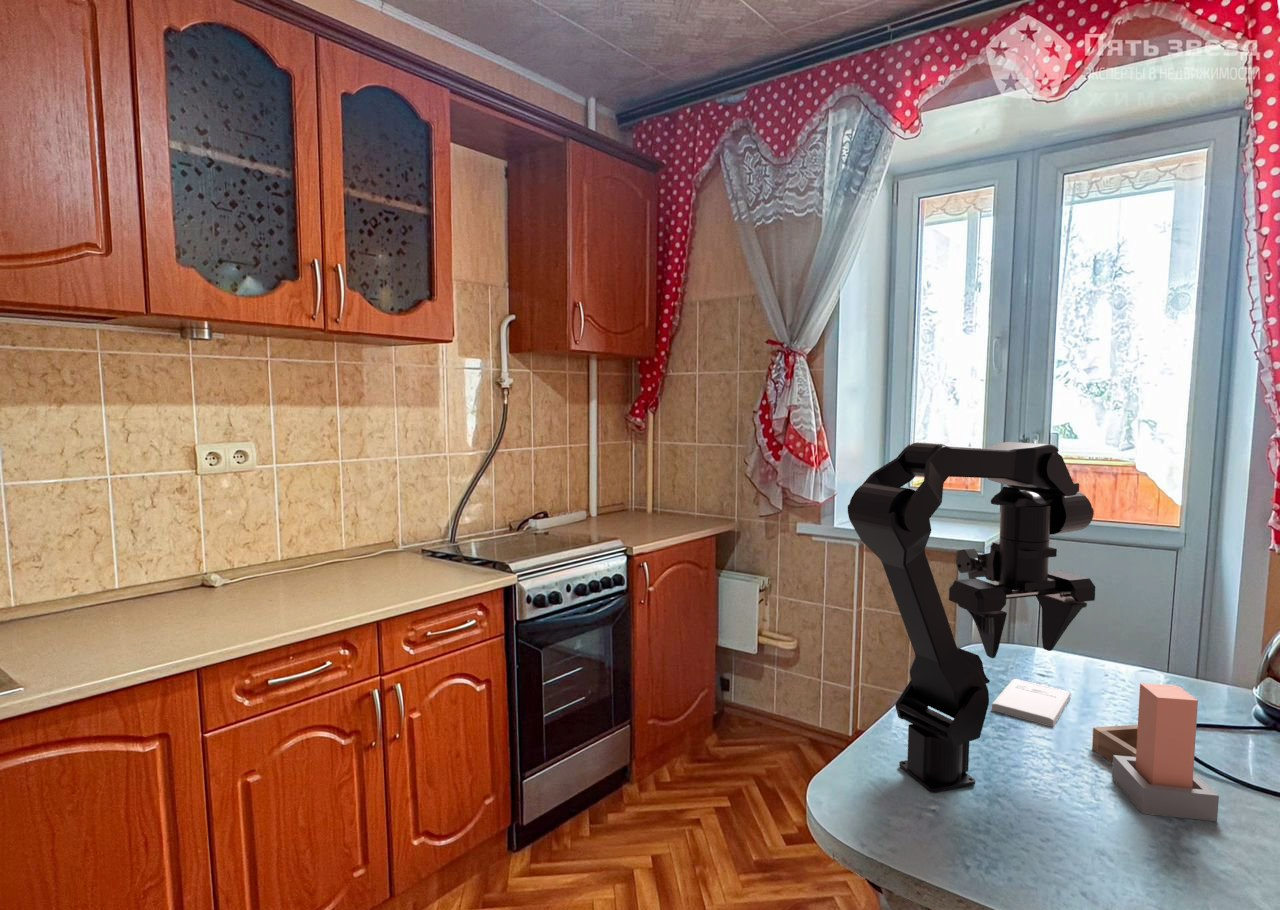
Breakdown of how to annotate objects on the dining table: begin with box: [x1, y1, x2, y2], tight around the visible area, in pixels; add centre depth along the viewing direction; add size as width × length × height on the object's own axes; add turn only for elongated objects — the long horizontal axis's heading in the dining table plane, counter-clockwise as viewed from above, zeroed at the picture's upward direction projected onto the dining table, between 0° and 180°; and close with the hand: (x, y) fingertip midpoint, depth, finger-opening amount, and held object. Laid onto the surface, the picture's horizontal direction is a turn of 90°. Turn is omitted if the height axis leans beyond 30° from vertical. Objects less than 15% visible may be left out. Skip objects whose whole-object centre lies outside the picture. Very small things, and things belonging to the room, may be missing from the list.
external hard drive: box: [991, 678, 1071, 728], centre depth 106 cm, size 2×8×12 cm
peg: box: [1135, 682, 1199, 789], centre depth 81 cm, size 4×4×13 cm
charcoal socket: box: [1111, 755, 1220, 822], centre depth 81 cm, size 7×7×3 cm
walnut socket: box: [1091, 724, 1138, 764], centre depth 89 cm, size 7×7×3 cm
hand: (1019, 653), depth 92 cm, fingers open, 9 cm apart
